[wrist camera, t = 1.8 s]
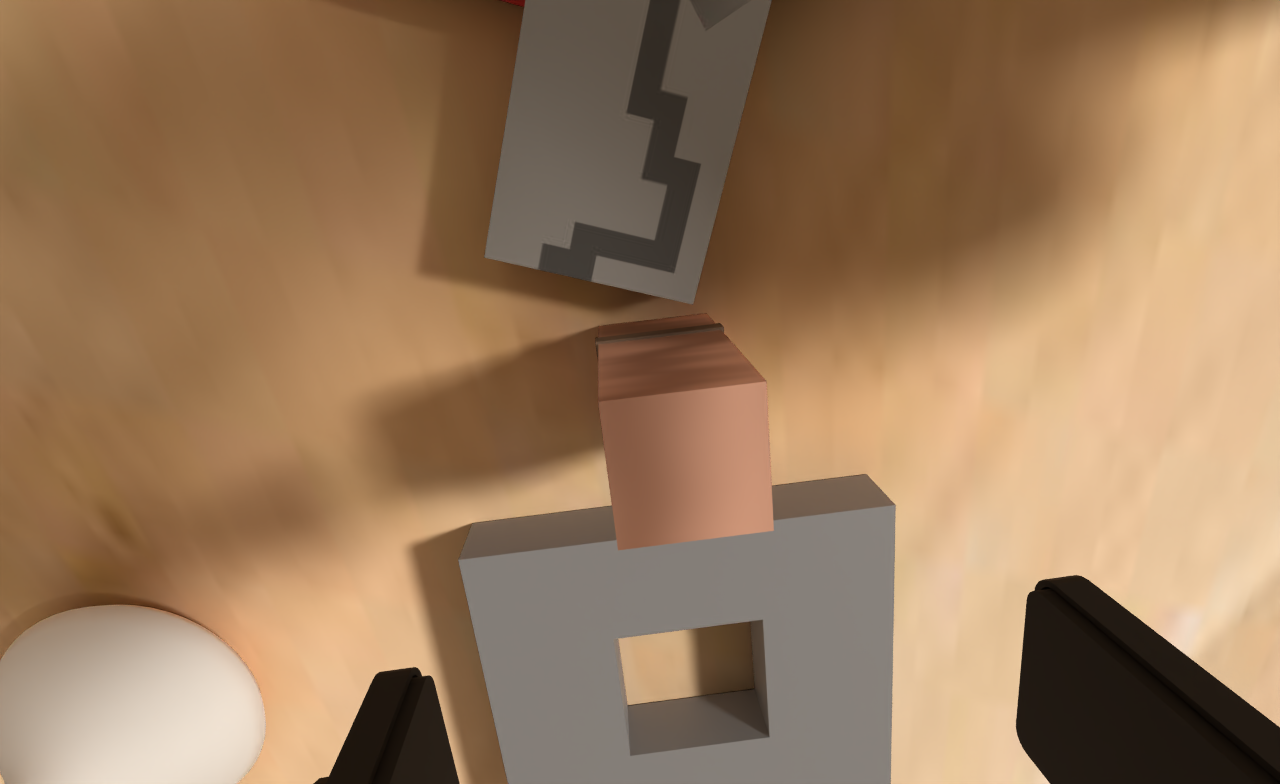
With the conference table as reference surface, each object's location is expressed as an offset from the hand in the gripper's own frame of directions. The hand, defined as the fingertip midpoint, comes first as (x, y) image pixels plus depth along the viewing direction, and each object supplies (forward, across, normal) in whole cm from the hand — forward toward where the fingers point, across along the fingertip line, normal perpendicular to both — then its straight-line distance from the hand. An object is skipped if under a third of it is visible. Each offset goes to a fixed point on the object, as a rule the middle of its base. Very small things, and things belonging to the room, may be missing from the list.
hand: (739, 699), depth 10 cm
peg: (+18, -1, 0) cm, 18 cm away
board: (+18, -1, +14) cm, 23 cm away
